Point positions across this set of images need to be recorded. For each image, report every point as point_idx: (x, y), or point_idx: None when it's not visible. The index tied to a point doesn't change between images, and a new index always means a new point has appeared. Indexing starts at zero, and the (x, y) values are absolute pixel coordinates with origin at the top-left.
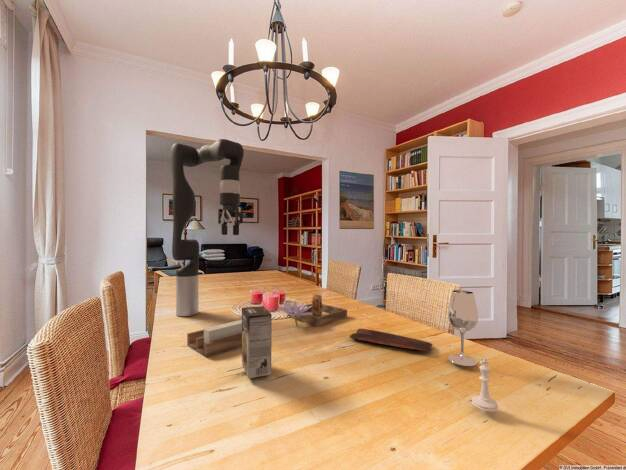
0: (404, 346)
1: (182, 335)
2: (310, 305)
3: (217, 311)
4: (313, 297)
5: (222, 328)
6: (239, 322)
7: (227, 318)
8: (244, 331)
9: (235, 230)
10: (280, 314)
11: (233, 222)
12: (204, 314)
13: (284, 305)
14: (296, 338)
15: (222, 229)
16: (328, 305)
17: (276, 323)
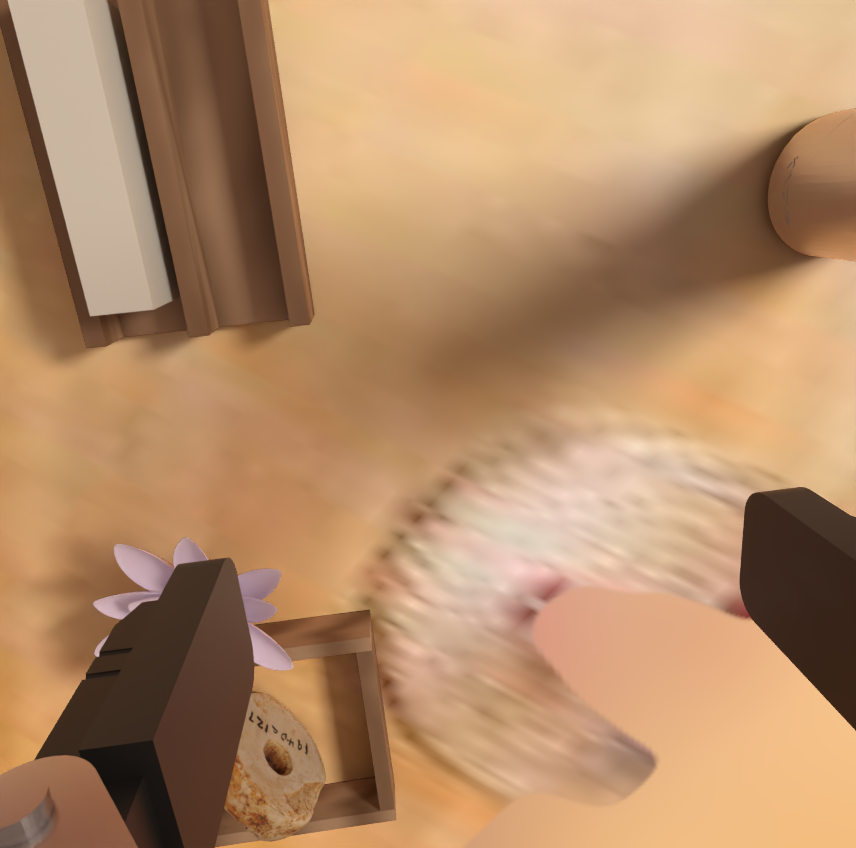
0: None
1: (454, 12)
2: (374, 771)
3: (762, 370)
4: (239, 786)
5: (31, 87)
6: (89, 227)
7: (583, 357)
8: None
9: (111, 657)
10: (448, 613)
11: (25, 846)
12: (762, 281)
13: (265, 603)
14: (44, 479)
15: (844, 557)
16: (302, 831)
17: (318, 521)
